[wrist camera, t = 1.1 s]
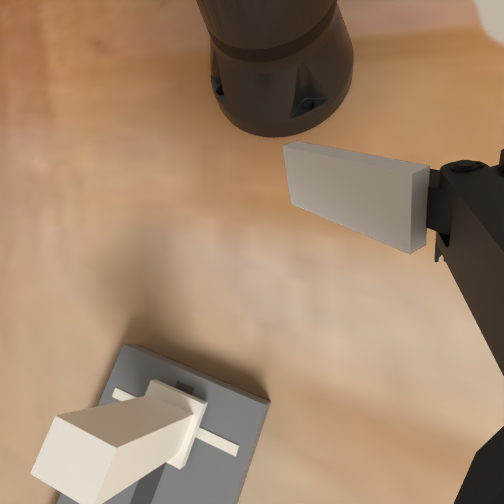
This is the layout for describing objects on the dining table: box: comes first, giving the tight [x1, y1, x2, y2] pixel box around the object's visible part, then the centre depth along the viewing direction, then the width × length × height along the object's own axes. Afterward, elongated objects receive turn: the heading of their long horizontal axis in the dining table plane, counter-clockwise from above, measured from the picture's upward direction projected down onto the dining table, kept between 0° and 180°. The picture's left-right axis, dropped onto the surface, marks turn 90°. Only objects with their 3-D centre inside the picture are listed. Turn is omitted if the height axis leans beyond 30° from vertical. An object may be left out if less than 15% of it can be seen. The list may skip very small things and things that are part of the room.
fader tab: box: [30, 380, 208, 504], centre depth 24 cm, size 5×5×12 cm
